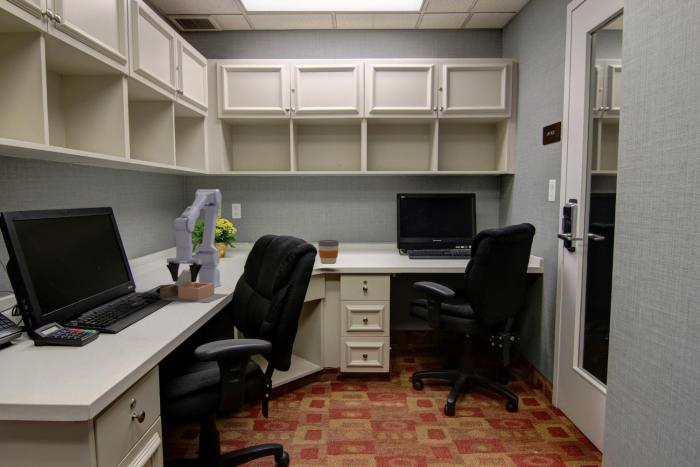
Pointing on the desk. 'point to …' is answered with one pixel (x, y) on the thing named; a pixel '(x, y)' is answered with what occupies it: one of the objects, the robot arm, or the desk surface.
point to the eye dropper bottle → (184, 278)
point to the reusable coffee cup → (328, 251)
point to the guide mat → (204, 300)
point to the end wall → (168, 291)
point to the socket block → (196, 291)
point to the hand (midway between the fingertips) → (184, 281)
